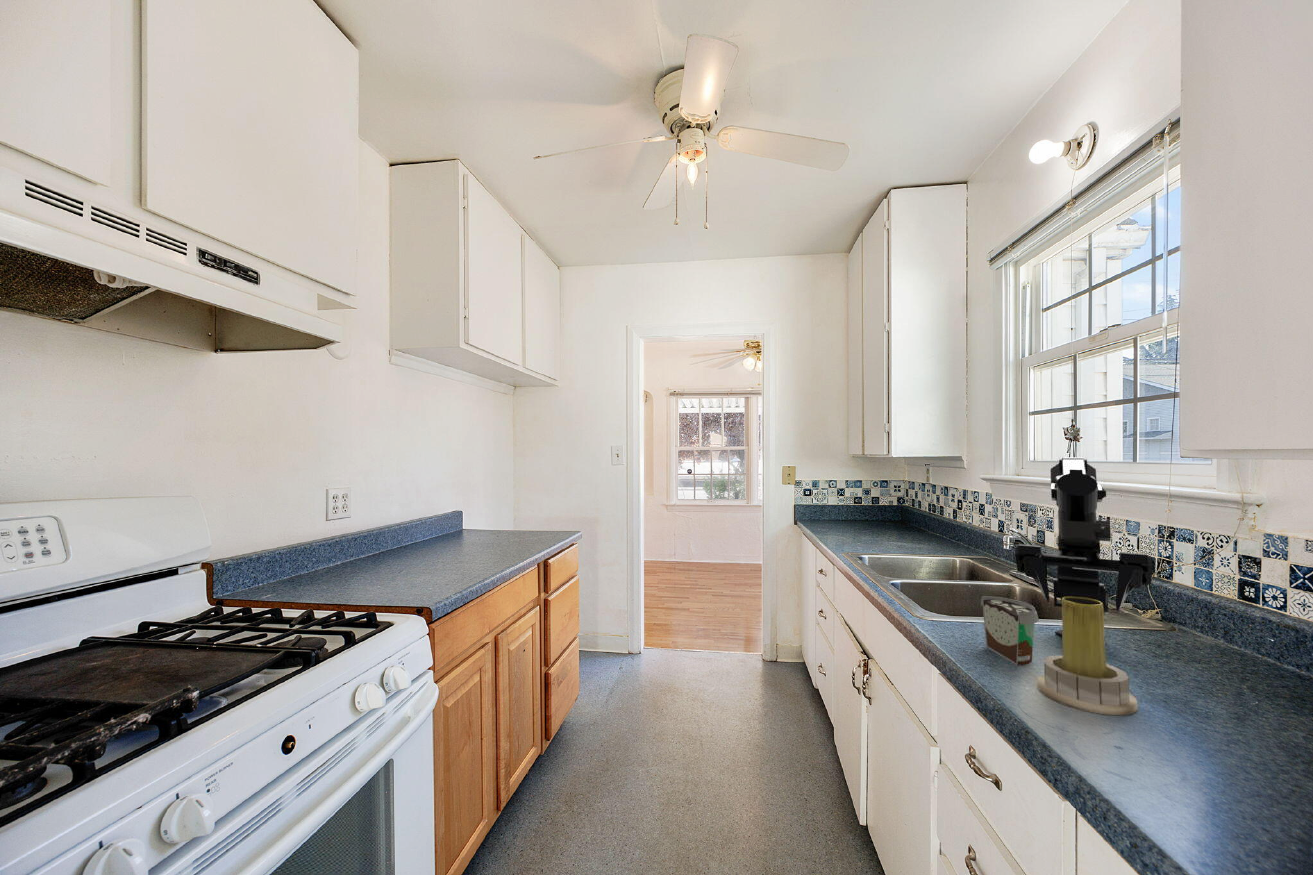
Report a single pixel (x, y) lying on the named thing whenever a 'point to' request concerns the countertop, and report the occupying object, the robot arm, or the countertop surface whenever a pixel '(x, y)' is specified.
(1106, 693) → the collar stand
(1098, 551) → the robot arm
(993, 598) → the food container
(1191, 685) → the countertop surface
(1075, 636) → the vase
